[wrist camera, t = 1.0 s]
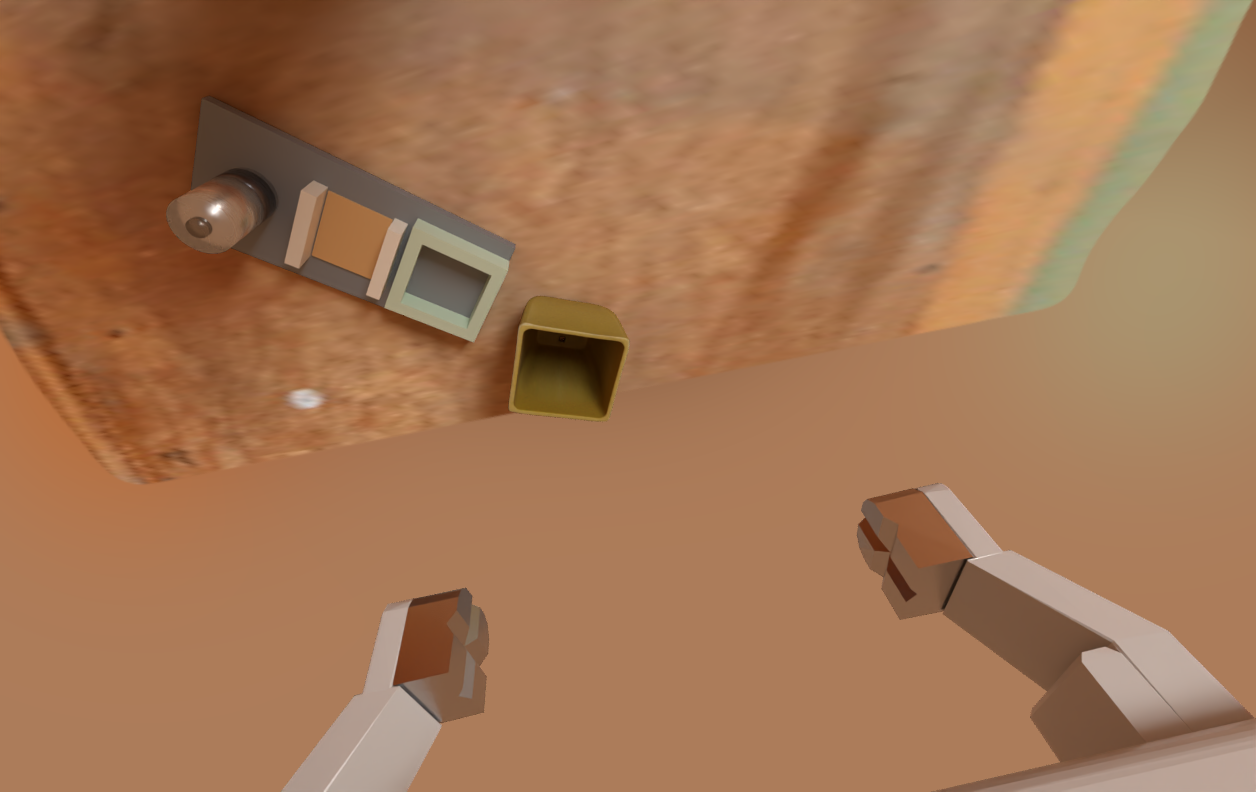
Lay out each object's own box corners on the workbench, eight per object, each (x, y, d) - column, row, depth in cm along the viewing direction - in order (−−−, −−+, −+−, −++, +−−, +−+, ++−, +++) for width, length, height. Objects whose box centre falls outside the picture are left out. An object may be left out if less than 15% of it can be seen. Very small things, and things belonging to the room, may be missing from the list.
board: (192, 225, 39) (185, 230, 38) (209, 95, 35) (201, 98, 34) (472, 335, 48) (471, 341, 47) (515, 244, 44) (514, 248, 43)
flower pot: (511, 355, 50) (507, 413, 43) (521, 273, 45) (518, 323, 38) (598, 366, 52) (608, 423, 45) (618, 289, 47) (632, 339, 40)
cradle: (296, 250, 40) (284, 262, 38) (313, 180, 38) (301, 190, 36) (386, 286, 43) (379, 300, 41) (408, 224, 40) (401, 235, 38)
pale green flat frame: (389, 296, 44) (384, 307, 42) (417, 218, 40) (413, 226, 39) (475, 331, 47) (473, 342, 45) (509, 260, 43) (508, 270, 42)
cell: (210, 188, 37) (148, 223, 31) (241, 155, 36) (183, 186, 30) (259, 227, 39) (209, 267, 33) (289, 198, 38) (244, 233, 32)
